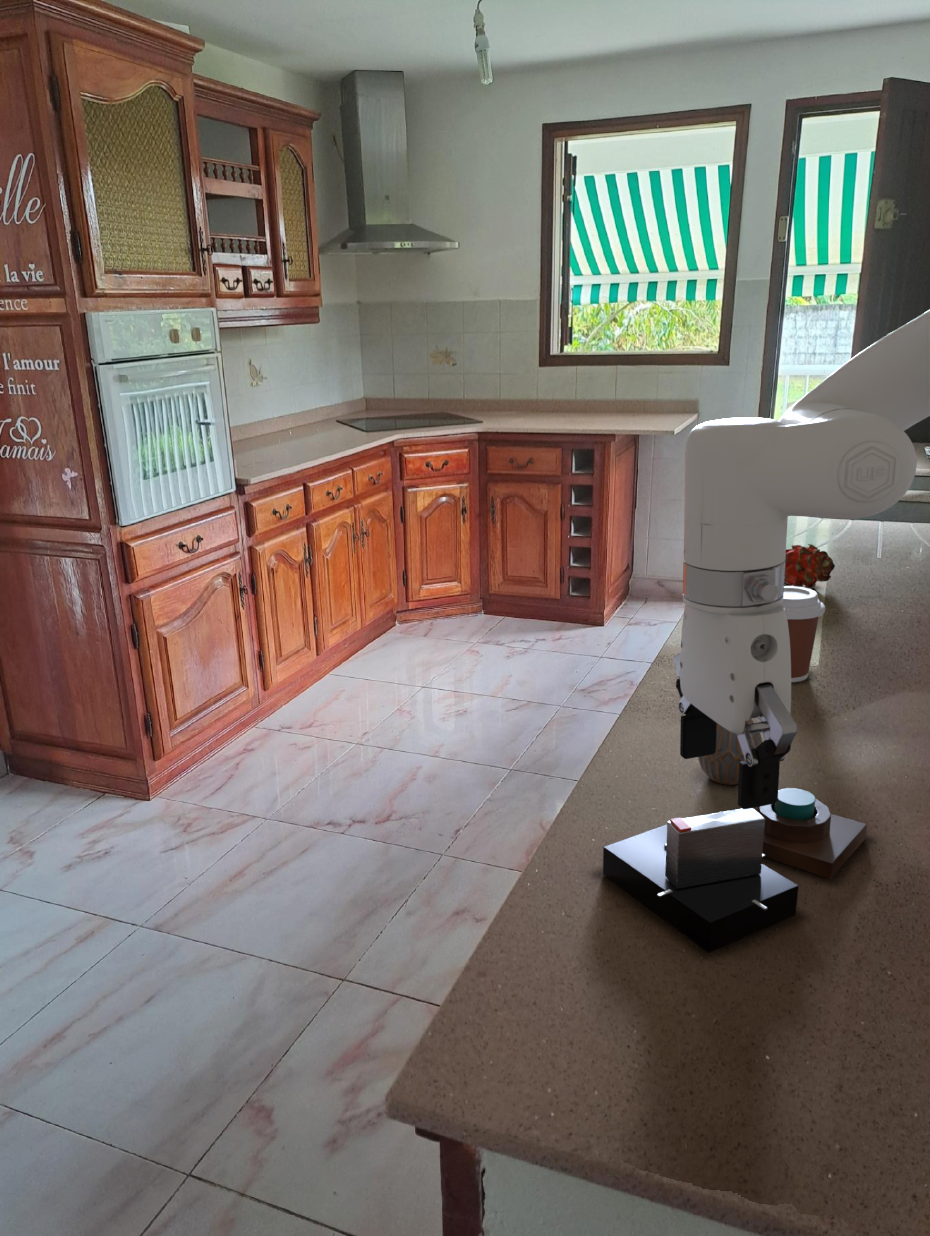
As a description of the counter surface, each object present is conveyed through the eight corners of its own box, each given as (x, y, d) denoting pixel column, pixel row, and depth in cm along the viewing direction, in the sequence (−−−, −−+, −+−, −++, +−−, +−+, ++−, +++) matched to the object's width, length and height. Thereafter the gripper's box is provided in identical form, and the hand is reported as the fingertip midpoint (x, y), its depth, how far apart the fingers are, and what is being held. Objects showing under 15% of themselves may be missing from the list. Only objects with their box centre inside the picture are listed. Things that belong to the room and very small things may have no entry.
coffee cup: (786, 659, 141) (792, 580, 137) (832, 678, 133) (841, 595, 129) (736, 670, 138) (741, 589, 134) (780, 690, 130) (788, 605, 126)
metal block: (747, 861, 86) (751, 804, 84) (761, 874, 84) (765, 816, 82) (664, 876, 84) (667, 818, 82) (676, 889, 82) (679, 830, 80)
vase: (721, 758, 112) (726, 688, 109) (773, 778, 107) (779, 705, 103) (682, 776, 108) (686, 704, 105) (734, 797, 103) (739, 722, 100)
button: (819, 810, 93) (821, 794, 92) (804, 825, 91) (806, 809, 90) (783, 800, 95) (784, 784, 95) (768, 814, 93) (769, 798, 92)
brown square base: (865, 839, 94) (869, 807, 92) (830, 879, 88) (834, 846, 86) (757, 806, 101) (759, 777, 100) (717, 842, 95) (719, 810, 93)
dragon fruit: (837, 598, 173) (767, 603, 178) (837, 562, 177) (769, 568, 183) (833, 568, 167) (761, 574, 172) (833, 531, 171) (763, 538, 177)
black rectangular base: (815, 917, 82) (818, 886, 81) (707, 965, 77) (709, 932, 76) (692, 841, 95) (694, 813, 94) (593, 877, 90) (593, 848, 89)
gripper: (845, 604, 67) (828, 818, 73) (720, 553, 83) (715, 732, 89) (748, 619, 66) (739, 836, 72) (640, 564, 82) (640, 746, 88)
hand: (726, 778), depth 81 cm, fingers open, 9 cm apart
